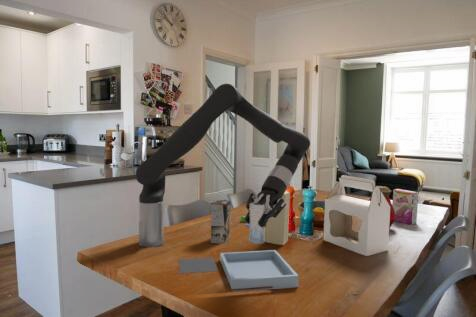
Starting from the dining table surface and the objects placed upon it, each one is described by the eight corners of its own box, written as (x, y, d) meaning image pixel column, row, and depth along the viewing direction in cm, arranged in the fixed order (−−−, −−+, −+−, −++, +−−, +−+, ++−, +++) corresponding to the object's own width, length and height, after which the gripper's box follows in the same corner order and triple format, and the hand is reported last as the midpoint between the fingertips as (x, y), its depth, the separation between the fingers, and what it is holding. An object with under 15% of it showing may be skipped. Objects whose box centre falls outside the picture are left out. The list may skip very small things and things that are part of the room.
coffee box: (225, 244, 138) (226, 205, 137) (210, 243, 139) (210, 204, 138) (230, 237, 147) (231, 200, 146) (216, 236, 148) (216, 199, 147)
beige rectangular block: (289, 240, 145) (290, 191, 143) (283, 245, 138) (285, 194, 136) (271, 237, 148) (272, 189, 146) (265, 242, 141) (266, 192, 140)
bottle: (360, 229, 163) (362, 187, 161) (361, 222, 175) (363, 183, 173) (396, 233, 157) (399, 190, 155) (395, 226, 169) (397, 186, 167)
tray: (231, 292, 97) (231, 280, 97) (219, 262, 119) (220, 253, 119) (298, 287, 101) (298, 275, 101) (275, 259, 123) (275, 249, 123)
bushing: (251, 244, 106) (251, 205, 105) (247, 238, 111) (248, 202, 110) (266, 243, 107) (267, 205, 106) (262, 238, 112) (263, 201, 111)
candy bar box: (390, 220, 181) (392, 189, 180) (396, 219, 184) (397, 188, 182) (411, 225, 172) (413, 192, 170) (416, 223, 174) (418, 191, 173)
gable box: (322, 240, 146) (325, 174, 144) (343, 235, 153) (346, 173, 151) (367, 256, 127) (370, 182, 125) (388, 250, 134) (392, 179, 132)
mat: (179, 276, 107) (179, 273, 107) (178, 262, 119) (178, 259, 119) (218, 274, 110) (218, 271, 110) (213, 260, 121) (213, 257, 121)
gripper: (256, 172, 118) (231, 213, 110) (290, 177, 108) (266, 221, 100) (265, 186, 122) (242, 226, 115) (299, 191, 112) (276, 235, 105)
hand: (253, 223), depth 108 cm, fingers closed on bushing, 5 cm apart
